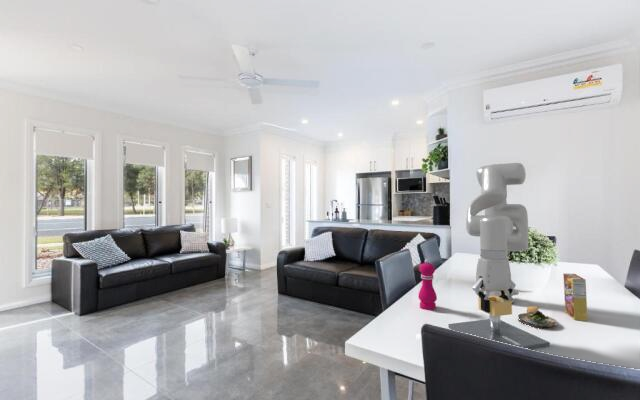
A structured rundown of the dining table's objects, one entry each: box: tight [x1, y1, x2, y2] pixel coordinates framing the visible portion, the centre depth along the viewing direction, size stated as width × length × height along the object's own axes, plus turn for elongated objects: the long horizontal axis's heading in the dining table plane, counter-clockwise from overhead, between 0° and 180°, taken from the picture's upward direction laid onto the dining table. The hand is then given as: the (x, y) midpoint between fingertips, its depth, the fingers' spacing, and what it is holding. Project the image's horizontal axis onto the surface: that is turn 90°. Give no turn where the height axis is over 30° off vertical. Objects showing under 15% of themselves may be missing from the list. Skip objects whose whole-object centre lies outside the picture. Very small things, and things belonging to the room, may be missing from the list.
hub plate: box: [448, 314, 551, 350], centre depth 98 cm, size 20×20×9 cm
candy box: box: [563, 273, 588, 322], centre depth 114 cm, size 9×4×15 cm, turn 158°
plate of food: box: [517, 303, 559, 330], centre depth 108 cm, size 12×12×8 cm
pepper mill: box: [417, 258, 437, 311], centre depth 126 cm, size 7×7×20 cm
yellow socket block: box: [477, 296, 513, 317], centre depth 98 cm, size 7×7×5 cm
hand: (494, 309), depth 98 cm, fingers closed on yellow socket block, 6 cm apart
